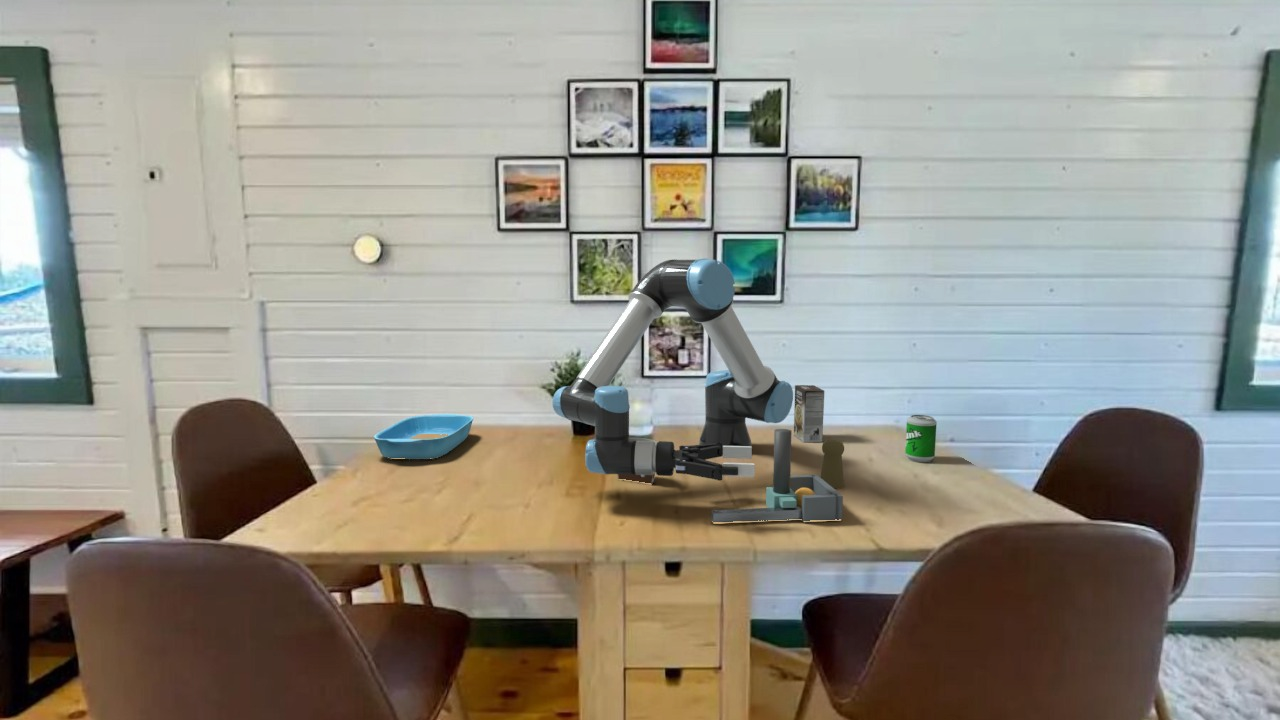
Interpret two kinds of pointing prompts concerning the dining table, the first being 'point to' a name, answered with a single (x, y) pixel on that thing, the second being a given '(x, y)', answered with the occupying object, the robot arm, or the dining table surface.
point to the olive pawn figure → (833, 463)
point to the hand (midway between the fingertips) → (753, 461)
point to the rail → (756, 514)
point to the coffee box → (808, 413)
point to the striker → (781, 473)
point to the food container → (635, 477)
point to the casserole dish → (398, 435)
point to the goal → (818, 498)
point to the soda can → (920, 438)
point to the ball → (802, 492)
